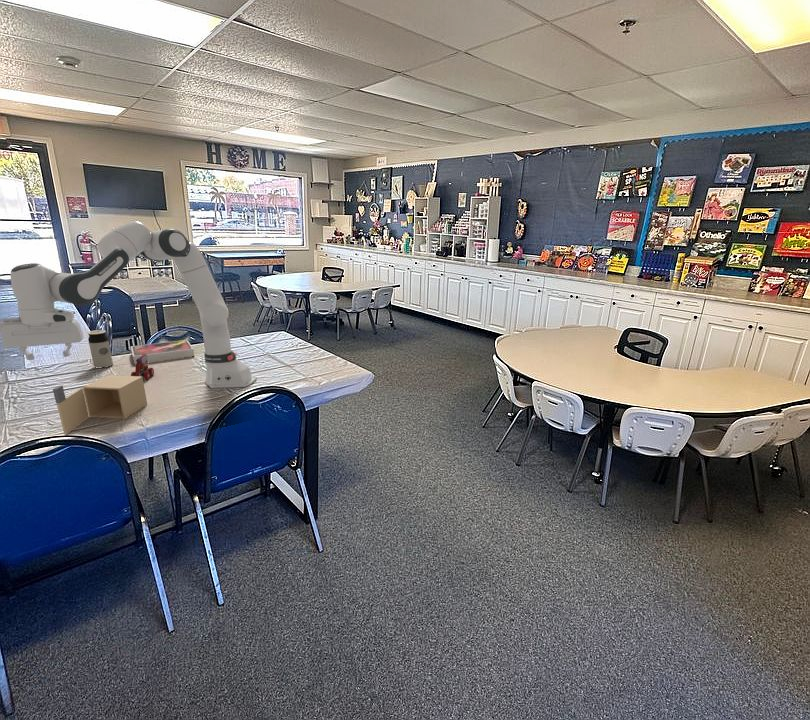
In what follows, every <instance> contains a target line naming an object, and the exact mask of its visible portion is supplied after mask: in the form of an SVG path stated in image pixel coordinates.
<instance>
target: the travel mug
mask: <svg viewBox="0 0 810 720" xmlns="http://www.w3.org/2000/svg"><path fill="white" fill-rule="evenodd" d="M106 332H107V331H106V330H104V329H96V330H90V331H88V332H87V335H88V345H89V348H90V349H89V350H90V354H91V359H92V363H93V367H94V366H95V367H106V366H110V367H112V366H113V365H114V362H113V357H112V352H111V348H110V343H109V338H108V336H107V335H106ZM111 365H112V366H111ZM95 367H94V368H95Z"/></svg>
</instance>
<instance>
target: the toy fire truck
mask: <svg viewBox="0 0 810 720" xmlns="http://www.w3.org/2000/svg"><path fill="white" fill-rule="evenodd" d="M136 362H137V363H136V365H135V369H134V370H135V371H132V372H131V374H130V376H141V377H143V380H145V381H148V380H150V379H151V378H150V377H153V376H154V374H155V369H154V367H149V363H148V362H147V355H146V354H143V355H142V356H140V357H139V358H138V359H137V360H136Z"/></svg>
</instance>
